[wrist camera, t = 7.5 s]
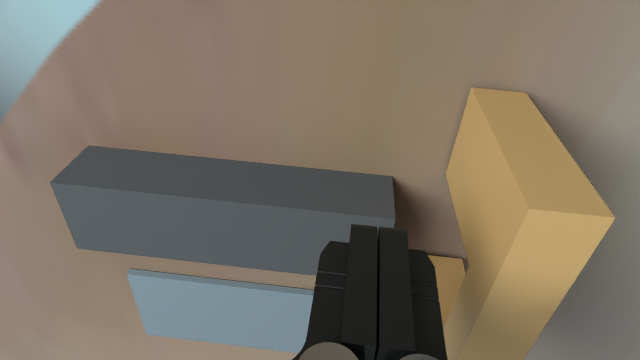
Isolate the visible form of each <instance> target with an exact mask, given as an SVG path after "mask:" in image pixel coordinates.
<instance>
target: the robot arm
mask: <svg viewBox="0 0 640 360" xmlns="http://www.w3.org/2000/svg"><path fill="white" fill-rule="evenodd" d="M292 360H448V358H447V353H446V346H445V338H444V331H443V324H442V316H441V309H440V302H439V294H438V287H437V280H436V272H435V266H434V265H433V263H432V261H431V260H430V258H429V257H428V255H427V254H426V252H425V251H422V250H412V249H408V239H407V230H406V229H398V228H388V227H379V230H378V228H377V226H368V225H359V224H351V230H350V239H349V243H347V242H337V241H330V242H329V243H328V244H327V245H326V247H325V248H324V249H323V251H322V252H321V253H320V258H319V264H318V270H317V276H316V282H315V288H314V294H313V301H312V307H311V313H310V319H309V325H308V331H307V337H306V341H305V344H304V346H303V348H302V349H301V351H300V352H299V353H298V355H297V356H296V357H295V358H293V359H292Z"/></svg>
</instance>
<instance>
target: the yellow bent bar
mask: <svg viewBox="0 0 640 360" xmlns="http://www.w3.org/2000/svg"><path fill="white" fill-rule="evenodd" d="M446 177H447V181H448V185H449V189H450V193H451V197H452V201H453V205H454V209H455V212H456V216H457V220H458V224H459V228H460V232H461V236H462V240H463V244H464V248H465V252H466V256H467V260H468V264H469V267H468V269H467V272H466V273H465V269H464V265H463V261H462V259H458V258H449V257H440V256H431V255H428V257H429V258H430V260H431V261H432V263H433V265H434V266H435V272H436V280H437V287H438V294H439V302H440V309H441V316H442V324H443V331H444V338H445V346H446V353H447V358H448V360H524V358H525V357H526V355H527V353H528V352H529V350H530V349H531V347H532V346H533V344H534V343H535V341H536V340H537V338H538V337H539V335H540V333H541V332H542V330H543V329H544V327H545V326H546V324H547V323H548V321H549V320H550V318H551V317H552V315H553V313H554V312H555V310H556V309H557V307H558V306H559V304H560V303H561V301H562V300H563V298H564V297H565V295H566V293H567V292H568V290H569V289H570V287H571V286H572V284H573V283H574V281H575V280H576V278H577V277H578V275H579V273H580V272H581V270H582V269H583V267H584V266H585V264H586V263H587V261H588V260H589V258H590V257H591V255H592V253H593V252H594V250H595V249H596V247H597V246H598V244H599V243H600V241H601V240H602V238H603V237H604V235H605V233H606V232H607V230H608V229H609V227H610V226H611V224H612V223H613V221H614V220H615V216H614V215H613V214H612V212H611V211H610V209H609V208H608V207H607V205H606V204H605V202H604V201H603V200H602V198H601V197H600V195H599V194H598V193H597V191H596V190H595V188H594V187H593V186H592V184H591V183H590V182H589V180H588V179H587V177H586V176H585V175H584V173H583V172H582V170H581V169H580V168H579V166H578V165H577V163H576V162H575V161H574V159H573V158H572V156H571V155H570V154H569V152H568V151H567V149H566V148H565V147H564V145H563V144H562V142H561V141H560V140H559V138H558V137H557V135H556V134H555V133H554V131H553V130H552V129H551V127H550V126H549V124H548V123H547V122H546V120H545V119H544V117H543V116H542V115H541V113H540V112H539V110H538V109H537V108H536V106H535V105H534V103H533V102H532V101H531V99H530V98H529V96H528V95H527V94H526V93H525V92H514V91H503V90H492V89H482V88H471V90H470V94H469V97H468V101H467V104H466V107H465V111H464V114H463V118H462V121H461V124H460V128H459V131H458V134H457V138H456V141H455V145H454V148H453V151H452V155H451V158H450V162H449V165H448V168H447V172H446Z"/></svg>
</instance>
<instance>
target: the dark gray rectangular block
mask: <svg viewBox="0 0 640 360" xmlns="http://www.w3.org/2000/svg"><path fill="white" fill-rule="evenodd" d="M50 184H51V187H52V189H53V191H54V194H55V196H56V199H57V201H58V203H59V206H60V208H61V211H62V213H63V215H64V218H65V220H66V223H67V225H68V227H69V230H70V232H71V234H72V237H73V239H74V242H75V244H76V246H77V248H78V249H87V250H95V251H104V252H113V253H122V254H131V255H140V256H148V257H157V258H166V259H175V260H184V261H193V262H201V263H210V264H219V265H228V266H237V267H246V268H254V269H263V270H272V271H281V272H290V273H299V274H307V275H316V276H317V270H318V264H319V258H320V253H321V252H322V251H323V249H324V248H325V247H326V245H327V244H328V243H329V242H330V241H337V242H347V243H349V239H350V230H351V224H359V225H368V226H377V228H378V230H379V227H388V228H394V224H395V220H396V219H395V205H394V192H393V179H392V176H383V175H373V174H363V173H353V172H344V171H334V170H324V169H314V168H304V167H294V166H284V165H275V164H265V163H255V162H245V161H235V160H225V159H215V158H206V157H196V156H186V155H176V154H166V153H156V152H147V151H137V150H127V149H117V148H107V147H97V146H88V147H87V148H85V149H84V150H83V151H82V152H81V153H80V154H79V155H78V156H77V157H76V158H75V159H74V160H73V161H72V162H71V163H70V164H69V165H68V166H67V167H66V168H65V169H64V170H62V171H61V172H60V173H59V174H58V175H57V176H56V177H55V178H54V179H53V180H52V181H51V182H50Z"/></svg>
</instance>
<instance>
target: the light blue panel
mask: <svg viewBox="0 0 640 360" xmlns="http://www.w3.org/2000/svg"><path fill="white" fill-rule="evenodd" d="M127 277H128V280H129V283H130V286H131V289H132V292H133V295H134V298H135V301H136V304H137V307H138V310H139V313H140V316H141V319H142V322H143V325H144V328H145V331H146V334H147V335H155V336H163V337H172V338H180V339H188V340H196V341H204V342H212V343H221V344H229V345H237V346H245V347H253V348H261V349H270V350H278V351H286V352H294V353H299V352H300V351H301V349H302V348H303V346H304V344H305V341H306V337H307V331H308V325H309V319H310V313H311V307H312V301H313V294H314V290H309V289H300V288H291V287H283V286H274V285H265V284H257V283H248V282H239V281H231V280H222V279H213V278H205V277H196V276H187V275H179V274H170V273H161V272H153V271H144V270H135V269H129V271H128V273H127Z"/></svg>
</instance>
